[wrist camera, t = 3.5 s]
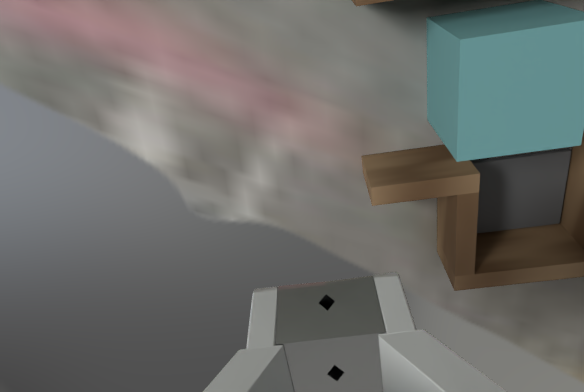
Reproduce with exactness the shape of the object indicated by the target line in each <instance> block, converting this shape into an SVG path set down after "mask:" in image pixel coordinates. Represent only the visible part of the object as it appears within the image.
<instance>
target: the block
mask: <svg viewBox="0 0 584 392" xmlns="http://www.w3.org/2000/svg"><path fill="white" fill-rule="evenodd" d="M427 117H428V121H429V123H430V124H431V126H432V127H433V128H434V130H435V131H436V133H437V134H438V136H439V137H440V139H441V140H442V141H443V143H444V144H445V146H446V147H447V149H448V150H449V151H450V153H451V154H452V156H453V157H454V159H455V160H456V162H460V161H467V160H475V159H482V158H490V157H497V156H505V155H512V154H520V153H527V152H535V151H542V150H550V149H557V148H565V147H572V146H580V145H581V142H582V136H583V131H584V12H582V11H579V10H575V9H572V8H568V7H565V6H561V5H557V4H554V3H550V2H547V1H543V0H533V1H527V2H521V3H515V4H508V5H502V6H496V7H490V8H483V9H477V10H471V11H465V12H458V13H452V14H446V15H440V16H434V17H427Z"/></svg>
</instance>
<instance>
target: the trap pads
mask: <svg viewBox="0 0 584 392" xmlns="http://www.w3.org/2000/svg"><path fill="white" fill-rule="evenodd" d="M570 156H571V150H570V149H560V150H553V151H545V152H538V153H530V154H523V155H515V156H508V157H500V158H493V159H485V160H477V161H471V162H472V163H473V165H474V166H475V167H476V169H477V170H478V171H479V173H480V185H479V202H478V220H477V233H485V232H493V231H501V230H510V229H518V228H526V227H535V226H543V225H552V224H559V223H560V217H561V211H562V205H563V199H564V193H565V186H566V180H567V174H568V168H569V162H570Z"/></svg>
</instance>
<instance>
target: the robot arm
mask: <svg viewBox="0 0 584 392" xmlns="http://www.w3.org/2000/svg"><path fill="white" fill-rule="evenodd" d="M252 296H253V297H252V304H251V314H250V322H249V331H248V340H247V348H246V349H243V350H239V351H238V352H237V353H236V354H235V355H234V357H233V358H232V359H231V360H230V361H229V362H228V364H227V365H226V366H225V367H224V368H223V369H222V370H221V372H220V373H219V374H218V375H217V376H216V378H215V379H214V380H213V381H212V382H211V383H210V384H209V385H208V387H207V388H206V389H205V390H204V391H203V392H507V391H506V390H504V389H503V388H502V387H500V386H499V385H498V384H496V383H495V382H494V381H492V380H491V379H490V378H488V377H487V376H486V375H484V374H483V373H482V372H480V371H479V370H478V369H476V368H475V367H474V366H472V365H471V364H470V363H468V362H467V361H466V360H464V359H463V358H462V357H460V356H459V355H458V354H456V353H455V352H453V351H452V350H451V349H450V348H448V347H447V346H446V345H444V344H443V343H442V342H440V341H439V340H438V339H436V338H435V337H434V336H432V335H431V334H430V333H428V332H427V331H426V330H424V329H423V330H417V329H416V326H415V323H414V320H413V317H412V314H411V311H410V308H409V304H408V301H407V298H406V295H405V292H404V289H403V286H402V283H401V280H400V276H399V274H398V273H397V272H391V273H384V274H377V275H373V276H366V277H358V278H351V279H343V280H335V281H327V282H316V283H306V284H296V285H285V286H279V287H269V288H259V289H255V290H254V292H253V295H252Z"/></svg>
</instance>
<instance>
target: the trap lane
mask: <svg viewBox="0 0 584 392" xmlns="http://www.w3.org/2000/svg"><path fill="white" fill-rule="evenodd" d="M352 1H353V3H354V4H355V5H356V6H361V5H367V4H373V3H380V2H386V1H392V0H352ZM362 166H363V174H364V178H365V181H366V185H367V188H368V192H369V196H370V199H371V203H372V206H374V205H382V204H390V203H398V202H406V201H414V200H422V199H430V198H437V252H438V254H439V256H440V259H441V261H442V263H443V266H444V268H445V270H446V272H447V275H448V277H449V279H450V281H451V284H452V286H453V288H454V291H457V290H466V289H475V288H484V287H493V286H503V285H512V284H521V283H530V282H539V281H548V280H558V279H567V278H576V277H584V131H583V136H582V142H581V145H580V146H573V147H572V153H571V159H570V165H569V171H568V177H567V183H566V189H565V195H564V201H563V207H562V214H561V220H560V223H559V224H552V225H543V226H535V227H526V228H518V229H510V230H501V231H493V232H485V233H477V220H478V202H479V185H480V173H479V171H478V170H477V169H476V167H475V166H474V165H473V163H472V162H471V161H470V160H467V161H460V162H456V160H455V159H454V157H453V156H452V154H451V153H450V151H449V150H448V149H447V147H446V146H445V145H438V146H431V147H424V148H416V149H409V150H402V151H394V152H387V153H380V154H372V155H365V156H362Z"/></svg>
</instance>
